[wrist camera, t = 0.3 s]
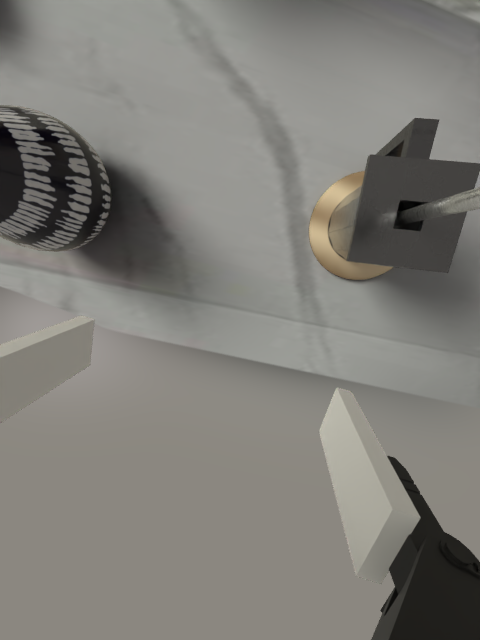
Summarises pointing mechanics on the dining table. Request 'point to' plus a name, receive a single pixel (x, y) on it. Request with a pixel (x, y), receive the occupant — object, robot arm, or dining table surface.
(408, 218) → the plunger
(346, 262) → the ring
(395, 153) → the french press
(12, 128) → the vase
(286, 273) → the dining table surface
